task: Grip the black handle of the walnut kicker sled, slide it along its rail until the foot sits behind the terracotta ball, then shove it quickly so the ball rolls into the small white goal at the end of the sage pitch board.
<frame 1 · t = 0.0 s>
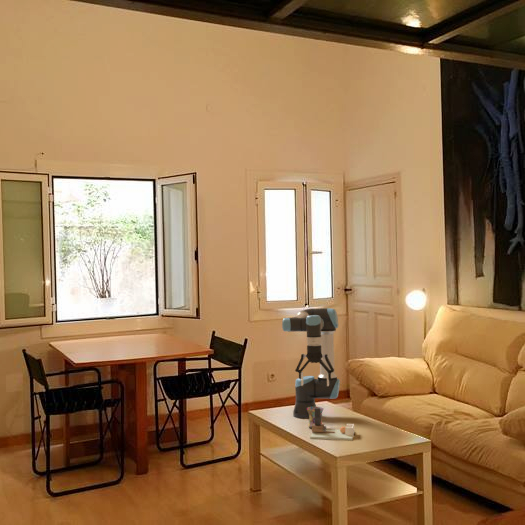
hand: (315, 385, 323), 28 cm above the table, fingers open, 13 cm apart
mug: (314, 427, 348), on the table
ball: (343, 429, 329), point 3 cm above the table, tilted 97°, touching pitch
goal: (349, 435, 328), resting on pitch
kicker: (318, 419, 332), point 8 cm above the table, slide at 0.0 cm
pitch: (332, 435, 329), on the table
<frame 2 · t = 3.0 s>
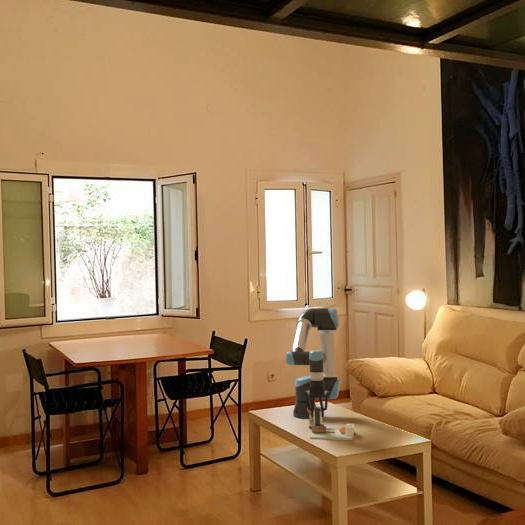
hand: (317, 422, 332), 6 cm above the table, fingers closed on kicker, 3 cm apart
ball: (342, 429, 329), point 3 cm above the table, tilted 81°, touching pitch
kicker: (318, 419, 332), point 8 cm above the table, slide at 0.0 cm, touching gripper
everything else where it was.
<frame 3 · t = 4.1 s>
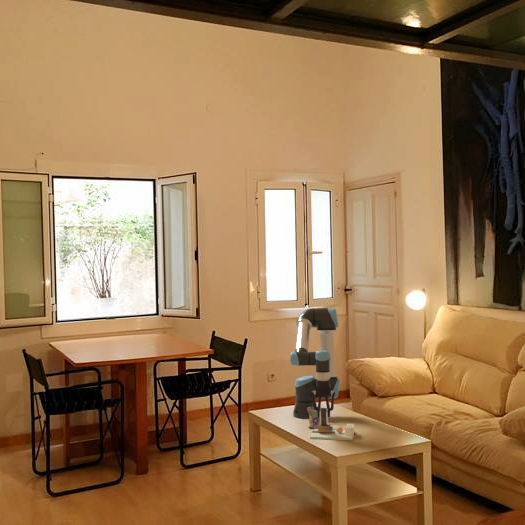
hand: (324, 423, 331), 6 cm above the table, fingers closed on kicker, 3 cm apart
ball: (339, 429, 330), point 3 cm above the table, tilted 35°, touching pitch
kicker: (325, 419, 331), point 8 cm above the table, slide at 3.4 cm, touching gripper
everything else where it was.
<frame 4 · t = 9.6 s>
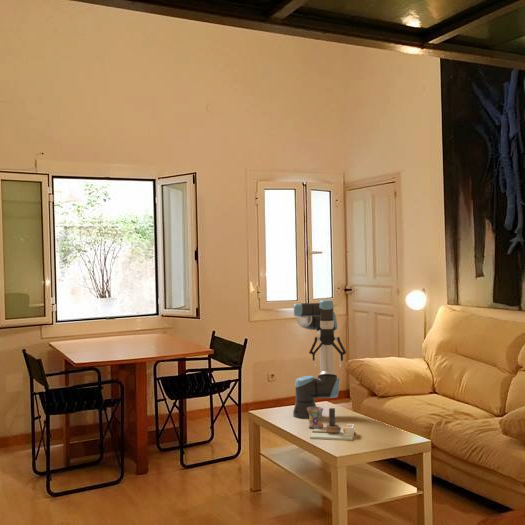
hand: (328, 366, 341), 35 cm above the table, fingers open, 13 cm apart
ball: (346, 430, 329), point 3 cm above the table, tilted 142°, touching pitch
kicker: (333, 419, 330), point 8 cm above the table, slide at 7.8 cm
everything else where it was.
at the end: ball 1.0 cm from the target spot, point 2.7 cm above the table; kicker slide at 7.8 cm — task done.
